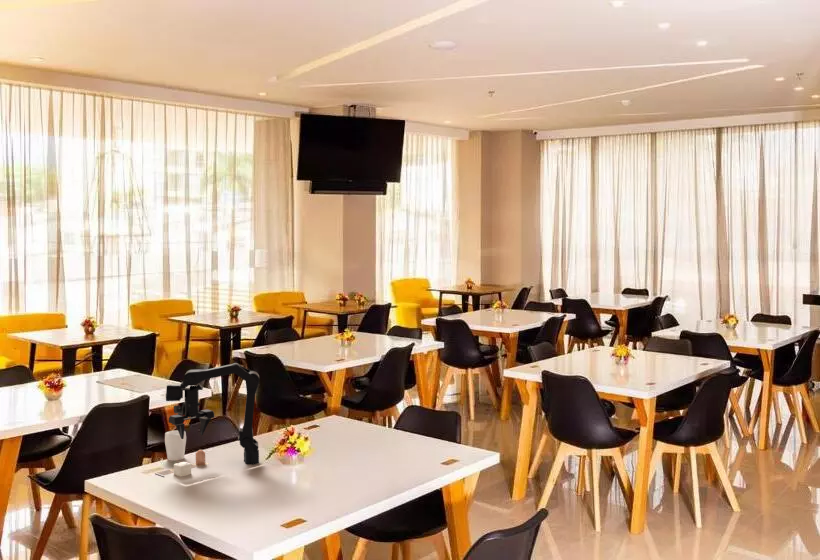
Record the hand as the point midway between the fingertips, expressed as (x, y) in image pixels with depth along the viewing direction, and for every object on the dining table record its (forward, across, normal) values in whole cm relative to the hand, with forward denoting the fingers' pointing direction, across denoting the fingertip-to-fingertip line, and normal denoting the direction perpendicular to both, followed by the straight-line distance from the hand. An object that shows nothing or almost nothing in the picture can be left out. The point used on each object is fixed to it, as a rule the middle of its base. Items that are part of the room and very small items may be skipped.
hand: (192, 437), depth 341 cm
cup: (+13, -1, -15) cm, 20 cm away
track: (+13, +4, 0) cm, 14 cm away
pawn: (+12, -4, 0) cm, 13 cm away
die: (+13, +9, +8) cm, 18 cm away
